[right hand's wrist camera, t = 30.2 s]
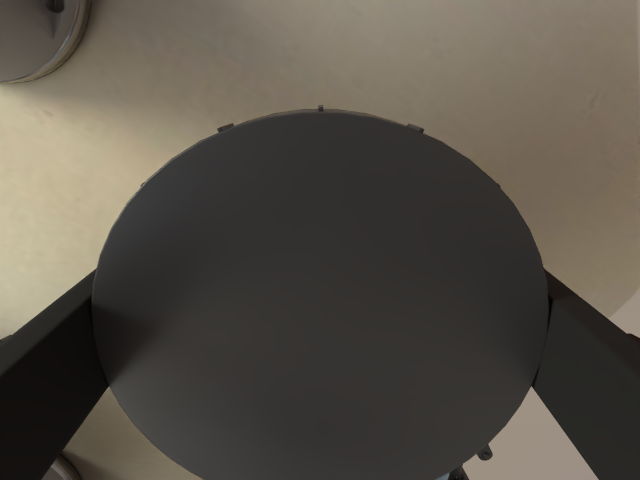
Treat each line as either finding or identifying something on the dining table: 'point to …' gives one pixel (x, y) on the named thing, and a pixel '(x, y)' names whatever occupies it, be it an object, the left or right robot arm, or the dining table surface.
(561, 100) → the dining table surface
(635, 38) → the dining table surface
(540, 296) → the lid
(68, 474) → the left robot arm
